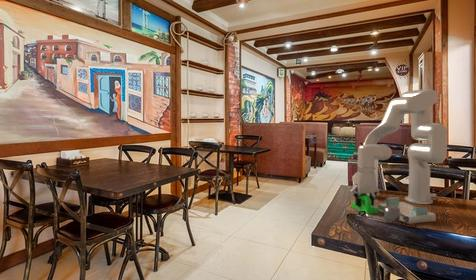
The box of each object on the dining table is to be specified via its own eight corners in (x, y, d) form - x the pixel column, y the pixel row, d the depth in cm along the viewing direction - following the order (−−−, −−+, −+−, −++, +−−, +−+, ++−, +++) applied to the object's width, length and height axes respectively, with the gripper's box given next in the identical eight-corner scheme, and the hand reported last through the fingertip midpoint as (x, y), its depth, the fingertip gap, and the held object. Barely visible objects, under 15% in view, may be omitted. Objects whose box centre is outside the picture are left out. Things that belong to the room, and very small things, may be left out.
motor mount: (402, 207, 136) (402, 196, 135) (435, 220, 118) (436, 207, 118) (364, 211, 131) (364, 199, 131) (392, 225, 113) (393, 211, 113)
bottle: (360, 189, 171) (361, 143, 168) (370, 188, 173) (371, 142, 171) (371, 193, 163) (372, 144, 161) (380, 191, 166) (381, 143, 164)
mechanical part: (378, 212, 129) (378, 196, 128) (367, 214, 128) (367, 197, 127) (361, 205, 141) (361, 190, 140) (351, 206, 139) (351, 191, 139)
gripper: (375, 168, 138) (374, 202, 140) (345, 169, 135) (344, 204, 136) (386, 170, 131) (385, 206, 132) (355, 172, 127) (353, 209, 129)
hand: (364, 205), depth 134 cm, fingers open, 6 cm apart
